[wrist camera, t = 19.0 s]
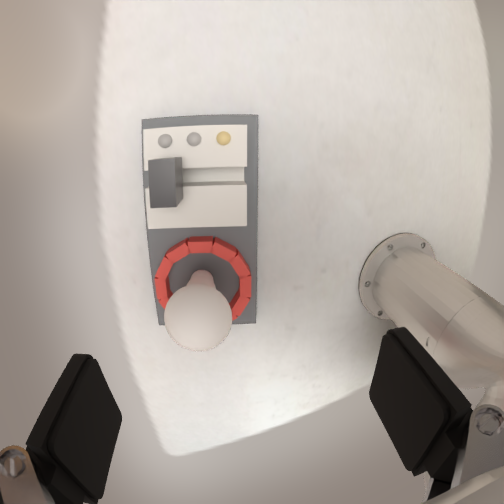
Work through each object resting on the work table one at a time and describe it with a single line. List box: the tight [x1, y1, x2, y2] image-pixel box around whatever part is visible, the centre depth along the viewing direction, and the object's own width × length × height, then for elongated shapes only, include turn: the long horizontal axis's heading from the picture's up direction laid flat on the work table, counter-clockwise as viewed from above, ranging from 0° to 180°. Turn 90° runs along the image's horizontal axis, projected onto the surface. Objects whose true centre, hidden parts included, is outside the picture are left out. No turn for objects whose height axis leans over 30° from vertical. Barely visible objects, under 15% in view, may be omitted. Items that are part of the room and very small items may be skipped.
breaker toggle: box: [148, 157, 183, 208], centre depth 24 cm, size 4×2×7 cm, turn 0°
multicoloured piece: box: [142, 115, 258, 325], centre depth 30 cm, size 24×12×7 cm, turn 0°
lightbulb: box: [164, 270, 232, 351], centre depth 28 cm, size 6×6×11 cm
